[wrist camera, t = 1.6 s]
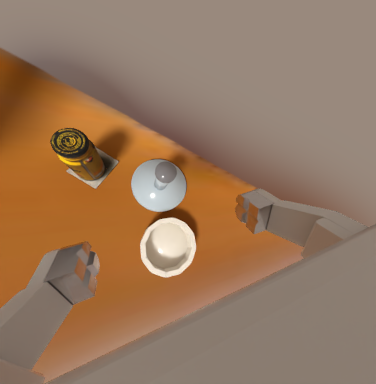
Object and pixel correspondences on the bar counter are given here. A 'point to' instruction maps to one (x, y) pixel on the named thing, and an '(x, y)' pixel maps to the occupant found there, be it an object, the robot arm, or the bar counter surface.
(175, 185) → the lid
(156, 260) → the bowl
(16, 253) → the bar counter surface
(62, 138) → the condiment
